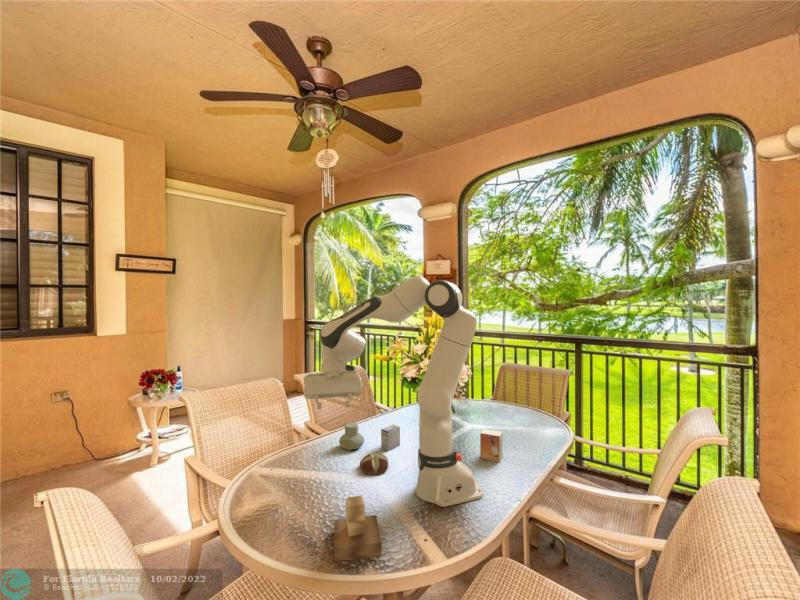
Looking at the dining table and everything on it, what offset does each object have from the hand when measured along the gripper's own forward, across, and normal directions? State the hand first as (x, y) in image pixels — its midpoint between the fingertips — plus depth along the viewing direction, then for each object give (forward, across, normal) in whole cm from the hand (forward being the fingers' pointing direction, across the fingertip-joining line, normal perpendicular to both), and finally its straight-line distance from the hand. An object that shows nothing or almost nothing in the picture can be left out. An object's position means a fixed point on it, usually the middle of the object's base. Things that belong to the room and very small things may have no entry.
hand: (333, 407), depth 125 cm
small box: (+10, +63, +32) cm, 71 cm away
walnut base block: (+40, +6, +2) cm, 40 cm away
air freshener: (-6, +7, +48) cm, 48 cm away
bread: (+10, +15, +32) cm, 37 cm away
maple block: (+37, +6, 0) cm, 37 cm away
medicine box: (-4, +24, +46) cm, 52 cm away
